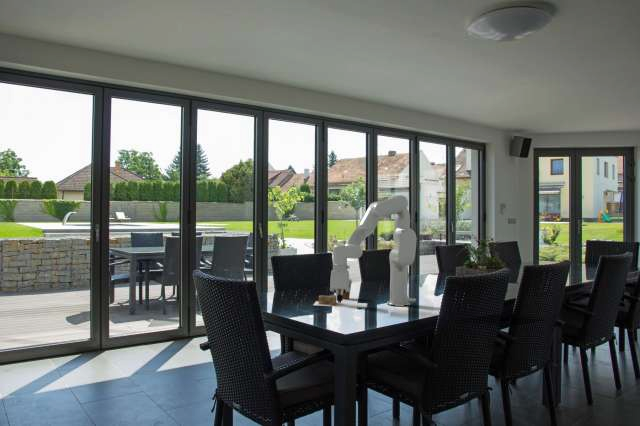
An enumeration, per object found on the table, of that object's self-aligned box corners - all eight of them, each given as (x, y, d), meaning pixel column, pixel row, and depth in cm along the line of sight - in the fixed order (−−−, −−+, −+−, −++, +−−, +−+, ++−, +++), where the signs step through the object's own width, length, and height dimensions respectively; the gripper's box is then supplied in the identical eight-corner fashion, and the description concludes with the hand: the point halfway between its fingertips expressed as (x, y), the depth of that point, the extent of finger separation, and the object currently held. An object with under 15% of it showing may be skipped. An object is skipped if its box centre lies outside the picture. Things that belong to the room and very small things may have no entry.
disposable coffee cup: (351, 298, 284) (352, 278, 284) (351, 301, 274) (351, 280, 274) (335, 298, 285) (336, 277, 285) (334, 301, 275) (335, 279, 275)
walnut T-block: (336, 302, 265) (336, 295, 265) (335, 305, 256) (335, 297, 256) (319, 301, 266) (320, 294, 266) (318, 304, 257) (318, 297, 257)
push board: (367, 305, 264) (367, 303, 264) (366, 309, 252) (366, 307, 252) (316, 303, 267) (316, 301, 267) (313, 307, 255) (313, 305, 255)
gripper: (354, 267, 263) (353, 301, 262) (326, 266, 264) (326, 300, 264) (353, 268, 255) (353, 303, 255) (325, 268, 257) (324, 303, 257)
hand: (339, 302), depth 260 cm, fingers closed
